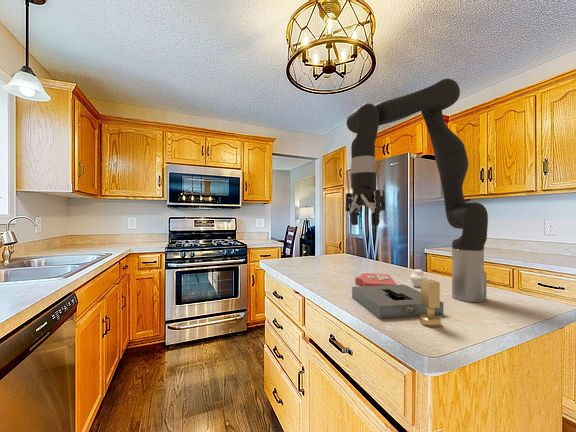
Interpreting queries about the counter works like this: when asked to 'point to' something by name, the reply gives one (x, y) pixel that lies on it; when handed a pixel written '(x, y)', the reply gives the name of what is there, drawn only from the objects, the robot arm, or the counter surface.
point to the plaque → (374, 280)
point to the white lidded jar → (417, 277)
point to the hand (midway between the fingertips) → (364, 225)
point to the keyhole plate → (392, 301)
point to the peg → (430, 302)
